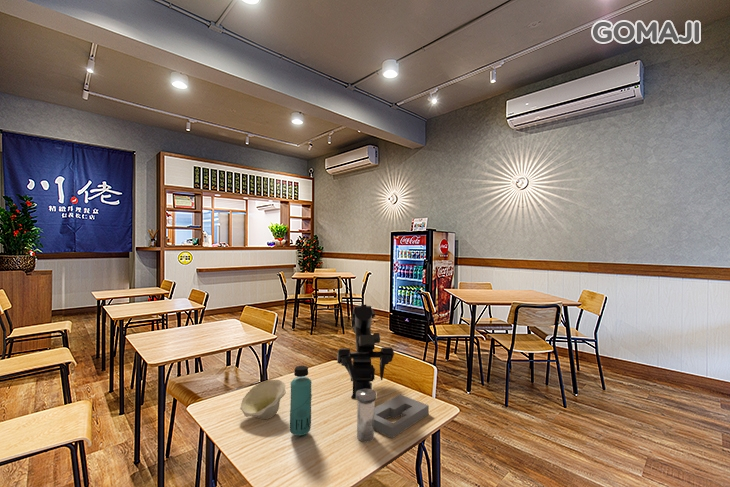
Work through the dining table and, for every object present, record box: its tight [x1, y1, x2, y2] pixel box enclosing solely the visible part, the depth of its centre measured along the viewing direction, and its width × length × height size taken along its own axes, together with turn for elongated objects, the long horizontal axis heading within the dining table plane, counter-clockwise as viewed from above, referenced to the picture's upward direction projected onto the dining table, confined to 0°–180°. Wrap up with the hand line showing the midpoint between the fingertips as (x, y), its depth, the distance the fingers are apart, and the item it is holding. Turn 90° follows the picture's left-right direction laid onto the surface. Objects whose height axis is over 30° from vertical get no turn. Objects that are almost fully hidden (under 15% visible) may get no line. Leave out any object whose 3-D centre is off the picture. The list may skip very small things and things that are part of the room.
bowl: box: [239, 379, 287, 420], centre depth 109 cm, size 15×14×10 cm
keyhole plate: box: [374, 394, 430, 439], centre depth 109 cm, size 20×12×3 cm, turn 137°
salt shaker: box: [355, 388, 377, 443], centre depth 98 cm, size 6×6×13 cm
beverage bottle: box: [289, 365, 313, 436], centre depth 99 cm, size 6×7×20 cm
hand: (367, 380), depth 106 cm, fingers open, 9 cm apart
